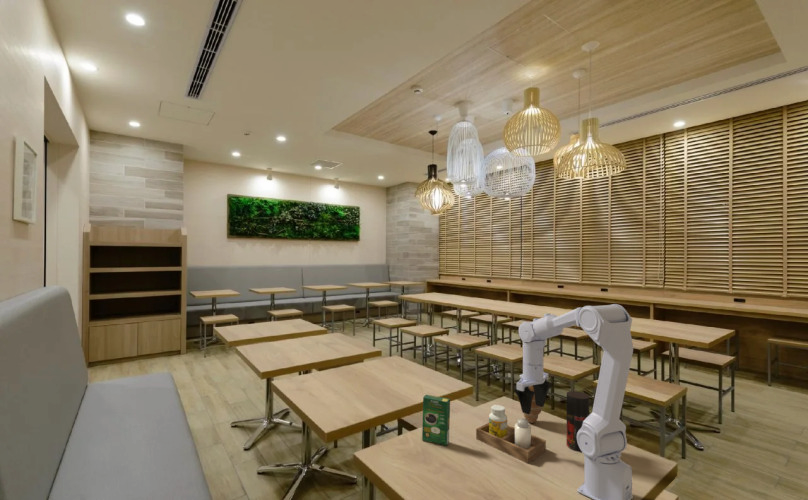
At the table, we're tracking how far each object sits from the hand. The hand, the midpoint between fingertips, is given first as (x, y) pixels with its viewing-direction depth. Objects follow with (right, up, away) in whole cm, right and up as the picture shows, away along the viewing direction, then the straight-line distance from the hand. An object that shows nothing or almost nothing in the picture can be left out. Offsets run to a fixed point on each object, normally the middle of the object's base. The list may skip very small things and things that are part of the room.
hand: (533, 409), depth 109 cm
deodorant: (+13, -11, -1) cm, 17 cm away
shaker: (-4, -10, -3) cm, 12 cm away
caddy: (-7, -10, 0) cm, 12 cm away
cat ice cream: (+5, -11, +15) cm, 19 cm away
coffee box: (-28, -11, +2) cm, 30 cm away
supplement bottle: (-9, -11, +3) cm, 15 cm away
